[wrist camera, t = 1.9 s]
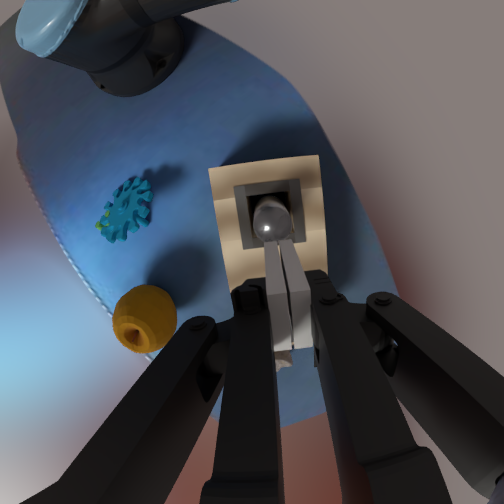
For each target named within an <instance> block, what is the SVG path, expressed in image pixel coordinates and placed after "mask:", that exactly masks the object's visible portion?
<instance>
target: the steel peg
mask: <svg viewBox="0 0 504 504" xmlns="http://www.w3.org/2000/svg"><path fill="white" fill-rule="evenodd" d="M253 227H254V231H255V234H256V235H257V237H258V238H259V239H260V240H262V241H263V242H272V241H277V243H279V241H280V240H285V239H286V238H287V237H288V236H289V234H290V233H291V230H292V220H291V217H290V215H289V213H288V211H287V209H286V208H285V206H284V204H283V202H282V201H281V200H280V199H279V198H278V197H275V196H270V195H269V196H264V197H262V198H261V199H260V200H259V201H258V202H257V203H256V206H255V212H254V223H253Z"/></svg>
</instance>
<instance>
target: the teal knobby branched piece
mask: <svg viewBox="0 0 504 504" xmlns="http://www.w3.org/2000/svg"><path fill="white" fill-rule="evenodd" d="M150 188H151V184H150V183H149V182H148V181H147V180H145V181H143V180H141V179H140V178H139V177H136V178H135V180H134V182H133V183H132V182H131V181H130V180H128V181H125V182H124V184H123V190H122V191H120V190H119V189H117V190H115V191H114V192H113V196H114V204H112V203H111V202H109V201H108V202H107V203H106V205H105V207H104V209H105V210H107V212H106V213H105V215H103V216H102V217H101V220H100V222H99V221H98V222H97V223H96V225H95V227H96V228H97V229H99V230H101V235H102V236H104V237H106V239H107V240H108V241H109V242H111V243H114V242H115V240H116V239H118V240H119V241H126V239H127V230H129V231H131V232H132V233H135V232H136V231H137V230H138V229H139V227H140V226H139V224H141V225H142V226H144V227H147V226H148V225H149V221H147V220H146V219H144V218H145V217H146V216H147V215H148V213H149V212H150V210H149V209H148V208H146V207H145V206H141V202H142V201H143V200H146V201H147V202H151V201H152V199H153V195H154V194H153V193H152V192H150V191H148V190H149V189H150ZM143 191H146V192H145V193H143V194H141V193H142V192H143ZM137 222H138V223H139V224H138V223H137ZM112 230H113V231H112ZM111 231H112V232H111ZM110 232H111V233H110Z"/></svg>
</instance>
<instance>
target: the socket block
mask: <svg viewBox="0 0 504 504" xmlns="http://www.w3.org/2000/svg"><path fill="white" fill-rule="evenodd" d="M208 170H209V176H210V182H211V188H212V195H213V200H214V206H215V212H216V218H217V224H218V229H219V235H220V241H221V246H222V252H223V257H224V262H225V268H226V273H227V278H228V283H229V288H230V294H231V291H232V290H233V289H234V288H236V287H237V286H240V285H242V284H243V282H244V281H245V280H246V279H251V278H260V277H266V275H265V254H264V242H263V241H262V240H260V239H259V238H258V237H257V235H256V234H255V231H254V227H253V223H254V222H253V215H252V208H251V201H250V196H251V195H258V194H266V193H274V192H282V191H284V192H285V201H286V209H287V211H288V213H289V215H290V217H291V220H292V230H291V233H290V234H289V236H288V237H287V238H286V239H285V240H288V239H292V242H293V244H294V247H295V250H296V252H297V255H298V257H299V260H300V263H301V265H302V268H303V271H309V270H317V269H320V270H322V271H324V272H326V273H327V275H328V268H327V247H326V230H325V216H324V204H323V193H322V182H321V173H320V164H319V156H318V155H310V156H298V157H288V158H279V159H271V160H263V161H255V162H248V163H241V164H234V165H228V166H222V167H216V168H210V169H208ZM277 245H278V250H279V255H280V247H279V243H277ZM280 260H281V256H280ZM291 344H292V345H293V344H294V342H292V343H291Z"/></svg>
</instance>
